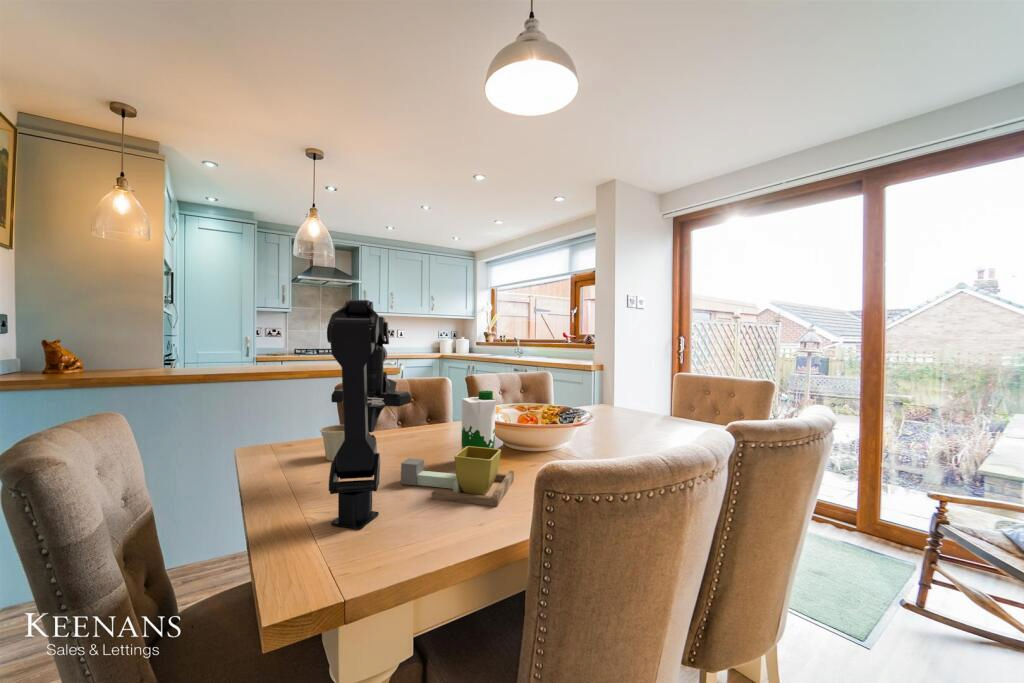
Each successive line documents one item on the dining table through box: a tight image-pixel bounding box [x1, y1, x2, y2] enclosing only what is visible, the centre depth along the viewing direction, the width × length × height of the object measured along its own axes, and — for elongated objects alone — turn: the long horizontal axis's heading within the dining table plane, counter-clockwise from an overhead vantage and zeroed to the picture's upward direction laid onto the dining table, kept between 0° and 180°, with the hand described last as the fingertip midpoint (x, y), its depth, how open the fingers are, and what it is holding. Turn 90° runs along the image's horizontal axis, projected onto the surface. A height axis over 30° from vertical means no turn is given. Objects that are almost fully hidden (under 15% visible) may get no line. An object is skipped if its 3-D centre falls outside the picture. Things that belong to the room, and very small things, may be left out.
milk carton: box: [461, 390, 498, 450], centre depth 116 cm, size 9×9×20 cm
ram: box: [400, 457, 463, 493], centre depth 98 cm, size 8×15×5 cm, turn 77°
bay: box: [431, 470, 515, 507], centre depth 96 cm, size 15×15×2 cm
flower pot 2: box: [454, 446, 502, 496], centre depth 95 cm, size 9×9×9 cm
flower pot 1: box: [319, 424, 344, 462], centre depth 118 cm, size 9×9×9 cm
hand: (370, 432), depth 101 cm, fingers closed
